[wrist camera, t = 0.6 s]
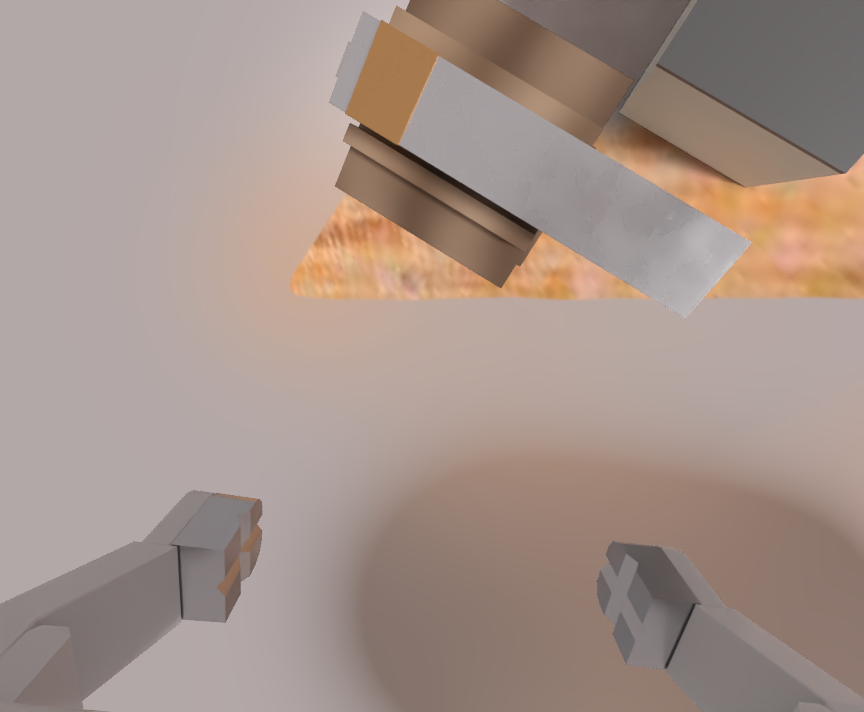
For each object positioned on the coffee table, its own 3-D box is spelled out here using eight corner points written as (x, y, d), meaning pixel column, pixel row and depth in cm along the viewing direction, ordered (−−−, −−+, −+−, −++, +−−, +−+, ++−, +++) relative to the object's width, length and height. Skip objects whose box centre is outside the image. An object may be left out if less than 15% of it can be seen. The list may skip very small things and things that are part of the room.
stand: (594, 150, 44) (673, 60, 18) (520, 265, 49) (504, 315, 24) (482, 84, 44) (412, -93, 19) (421, 204, 49) (305, 192, 24)
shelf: (889, 11, 35) (1105, -114, 22) (745, 187, 41) (845, 173, 28) (738, -74, 36) (858, -248, 22) (618, 112, 42) (657, 63, 29)
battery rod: (715, 237, 21) (753, 241, 18) (660, 303, 23) (685, 320, 19) (379, 36, 22) (347, -1, 18) (349, 114, 24) (313, 94, 20)
